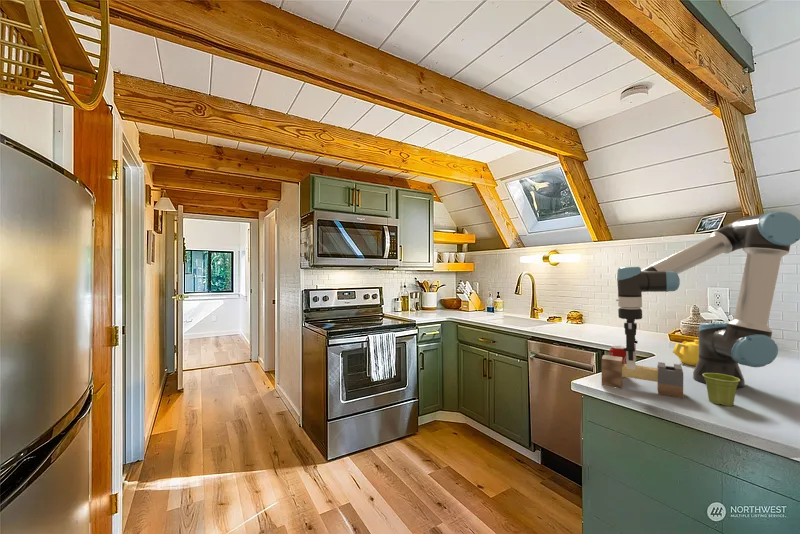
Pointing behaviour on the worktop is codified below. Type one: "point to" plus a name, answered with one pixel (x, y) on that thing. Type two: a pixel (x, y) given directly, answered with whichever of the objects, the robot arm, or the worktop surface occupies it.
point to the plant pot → (721, 388)
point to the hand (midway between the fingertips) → (631, 364)
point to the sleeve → (670, 380)
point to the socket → (612, 371)
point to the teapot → (688, 352)
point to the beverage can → (618, 353)
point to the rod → (641, 373)
